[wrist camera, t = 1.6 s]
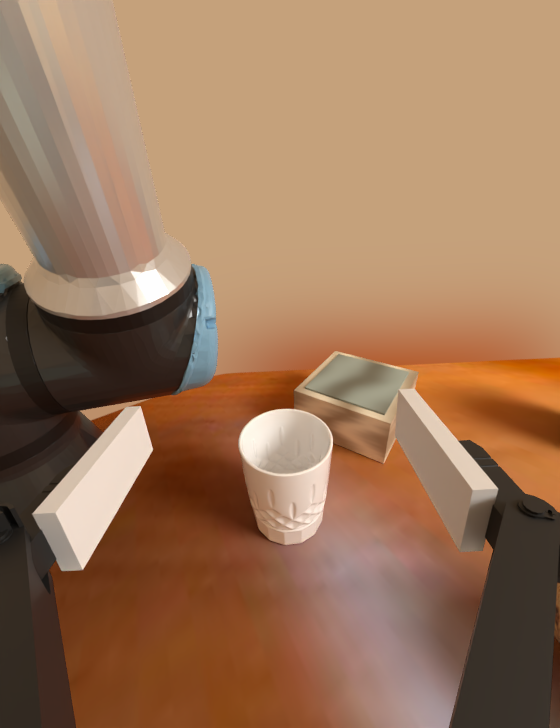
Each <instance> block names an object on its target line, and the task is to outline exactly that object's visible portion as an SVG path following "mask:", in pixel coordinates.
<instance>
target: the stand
mask: <svg viewBox="0 0 560 728" xmlns="http://www.w3.org/2000/svg"><path fill="white" fill-rule="evenodd" d="M417 377H418V372H416V371H413V370H409V369H405V368H401V367H397V366H393V365H389V364H384V363H380V362H377V361H373V360H369V359H365V358H361V357H356V356H353V355H349V354H345V353H341V352H337V351H335V352H334V353H333V354H332V355H331V356H330V357H329V358H328V359H326V360H325V362H323V363H322V364H321V365H320V366H319V367H318V368H317V369H316V370H315V371H314V372H313V373H312V374H311V375H310V376H309V377H307V378H306V379H305V380H304V381H303V382H302V383H301V384H300V385H299V386H298V387H297V388H296V389H295V390H294V409H296V410H301V411H305V412H308V413H311V414H313V415H315V416H316V417H318V418H320V419H321V420H322V421H323V422H324V423H325V424H326V425H327V426H328V428H329V429H330V431H331V434H332V437H333V443H334V444H337V445H339V446H342V447H344V448H346V449H349V450H351V451H354V452H356V453H359V454H361V455H363V456H366V457H368V458H371V459H373V460H376V461H378V462H380V463H383V464H384V462H385V460H386V458H387V456H388V454H389V452H390V450H391V448H392V446H393V443H394V441H395V439H396V436H395V427H396V414H397V402H398V389H415V386H416V381H417Z"/></svg>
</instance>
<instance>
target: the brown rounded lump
mask: <svg viewBox="0 0 560 728" xmlns="http://www.w3.org/2000/svg"><path fill="white" fill-rule="evenodd" d="M554 636H555V638H556V639H557V640H558V642H559V643H560V583H557V596H556V614H555V631H554Z"/></svg>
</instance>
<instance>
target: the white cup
mask: <svg viewBox="0 0 560 728" xmlns="http://www.w3.org/2000/svg"><path fill="white" fill-rule="evenodd" d="M238 446H239V451H240V456H241V461H242V466H243V471H244V476H245V481H246V485H247V489H248V494H249V498H250V502H251V506H252V508H253V511H254V516H255V519H256V522H257V526H258V529H259V530H260V531H261V532H262V533H263V534H264V535H265V536H266V537H267V538H268V539H269V540H270V541H274V542H277V543H280V544H283V545H291V544H298V543H302V542H304V541H305V540H307V539H308V538H310V537H311V536H313V535H314V534H315V533H316V531H317V529H318V527H319V525H320V523H321V522H322V516H323V507H324V503H325V499H326V493H327V487H328V480H329V472H330V463H331V455H332V447H333V437H332V434H331V431H330V429H329V428H328V426H327V425H326V424H325V423H324V422H323V421H322V420H321V419H320V418H318V417H316V416H315V415H313V414H311V413H308V412H305V411H301V410H296V409H277V410H272V411H268V412H265V413H263V414H260V415H258V416H257V417H255V418H253V419H252V420H251V421H250V422H248V423H247V424H246V426H245V427H244V428H243V430H242V431H241V434H240V436H239V441H238Z"/></svg>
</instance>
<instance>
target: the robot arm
mask: <svg viewBox="0 0 560 728" xmlns="http://www.w3.org/2000/svg"><path fill="white" fill-rule="evenodd" d="M0 200H1V201H2V203H3V205H4V206H5V208H6V210H7V212H8V213H9V215H10V216H11V218H12V220H13V222H14V223H15V225H16V227H17V228H18V230H19V232H20V234H21V235H22V237H23V239H24V240H25V242H26V244H27V245H28V247H29V249H30V251H31V252H32V254H33V256H34V258H33V259H32V261H31V263H30V265H29V267H28V268H27V271H26V273H25V277H24V283H22V282H21V279H22V278H21V275H20V274H19V273H17V272H16V271H15V269H14V268H12V267H11V266H9V265H6V264H0V728H76V724H75V718H74V712H73V706H72V699H71V693H70V687H69V681H68V674H67V668H66V662H65V656H64V649H63V643H62V637H61V630H60V624H59V618H58V612H57V605H56V599H55V593H54V587H53V580H52V576H51V574H50V572H49V569H50V568H51V566H52V565H53V563H54V562H55V560H56V561H57V563H58V565H59V567H60V569H61V571H73V570H83V569H84V567H85V565H86V564H87V562H88V560H89V559H90V557H91V555H92V553H93V552H94V550H95V548H96V547H97V545H98V543H99V542H100V540H101V538H102V536H103V535H104V533H105V531H106V530H107V528H108V526H109V524H110V523H111V521H112V519H113V518H114V516H115V514H116V512H117V511H118V509H119V507H120V506H121V504H122V502H123V500H124V499H125V497H126V495H127V494H128V492H129V490H130V488H131V487H132V485H133V483H134V482H135V480H136V478H137V476H138V475H139V473H140V471H141V470H142V468H143V466H144V464H145V463H146V461H147V459H148V458H149V456H150V454H151V452H152V451H153V448H152V444H151V441H150V437H149V434H148V430H147V427H146V423H145V420H144V416H143V413H142V409H141V406H136V407H126V408H125V409H124V410H123V411H122V412H121V413H120V415H119V416H118V417H117V418H116V419H115V420H114V421H113V423H112V424H111V425H110V426H109V427H108V428H107V429H106V430H105V432H104V433H103V432H102V431H101V430H100V429H99V428H98V427H97V426H95V425H94V424H93V423H92V422H91V421H90V420H89V419H88V418H87V417H86V416H85V415H83V414H82V413H81V412H80V410H86V409H91V408H97V407H103V406H109V405H115V404H120V403H125V402H132V401H137V400H144V399H149V398H155V397H161V396H167V395H177V394H179V393H180V392H182V391H185V390H189V389H193V388H198V387H201V386H204V385H206V384H207V383H209V382H210V381H211V379H212V378H213V376H214V374H215V371H216V366H217V355H218V338H217V327H216V324H215V323H216V307H215V299H214V292H213V286H212V281H211V278H210V275H209V272H208V271H207V269H206V268H205V267H203V266H197V265H194V264H191V259H190V255H189V253H188V251H187V249H186V248H185V247H184V245H183V244H182V243H180V242H179V241H178V240H176V239H175V238H173V237H172V236H170V235H168V234H167V233H165V231H164V226H163V222H162V218H161V213H160V209H159V204H158V200H157V196H156V191H155V187H154V182H153V178H152V173H151V169H150V165H149V160H148V156H147V151H146V147H145V143H144V138H143V134H142V129H141V125H140V120H139V116H138V112H137V107H136V103H135V98H134V94H133V90H132V85H131V80H130V77H129V72H128V67H127V63H126V58H125V54H124V50H123V45H122V41H121V36H120V32H119V27H118V23H117V18H116V14H115V10H114V5H113V1H112V0H0ZM395 436H396V438H397V440H398V442H399V444H400V445H401V447H402V449H403V451H404V453H405V454H406V456H407V458H408V460H409V462H410V463H411V465H412V467H413V469H414V471H415V472H416V474H417V476H418V478H419V480H420V481H421V483H422V485H423V487H424V489H425V490H426V492H427V494H428V496H429V498H430V499H431V501H432V503H433V505H434V507H435V508H436V510H437V512H438V514H439V516H440V517H441V519H442V521H443V523H444V525H445V526H446V528H447V530H448V532H449V534H450V535H451V537H452V539H453V541H454V543H455V544H456V546H457V548H458V550H459V552H468V551H483V547H484V543H485V539H487V541H488V542H489V544H490V545H491V547H492V548H493V553H492V557H491V560H490V564H489V568H488V573H487V577H486V581H485V585H484V589H483V593H482V597H481V601H480V605H479V609H478V613H477V617H476V621H475V625H474V629H473V633H472V637H471V641H470V645H469V649H468V653H467V657H466V661H465V665H464V669H463V673H462V677H461V681H460V685H459V689H458V693H457V697H456V701H455V705H454V709H453V713H452V717H451V721H450V725H449V728H549V718H550V700H551V683H552V666H553V648H554V631H555V614H556V596H557V583H560V513H559V512H557V511H556V510H555V509H554V507H552V506H551V505H550V504H548V503H547V502H546V501H544V500H542V499H540V498H537V497H535V496H532V495H528V494H525V493H524V492H523V491H522V490H521V489H520V488H519V487H518V486H517V485H516V484H515V483H514V481H513V480H512V479H511V478H510V477H509V476H508V475H507V474H506V473H505V472H504V471H503V470H502V468H501V467H498V464H497V463H496V462H495V461H494V460H493V459H491V457H490V456H489V454H488V453H487V452H486V451H485V450H484V449H483V448H482V447H480V446H479V445H477V444H475V443H474V442H472V441H470V440H464V441H458V440H457V439H456V438H455V437H454V435H453V434H452V433H451V432H450V431H449V430H448V428H447V427H446V426H445V425H444V424H443V422H442V421H441V420H440V419H439V418H438V416H437V415H436V414H435V413H434V412H433V411H432V409H431V408H430V407H429V406H428V405H427V403H426V402H425V401H424V400H423V399H422V397H421V396H420V395H419V394H418V393H417V392H416V390H415V389H398V402H397V414H396V427H395Z"/></svg>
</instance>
